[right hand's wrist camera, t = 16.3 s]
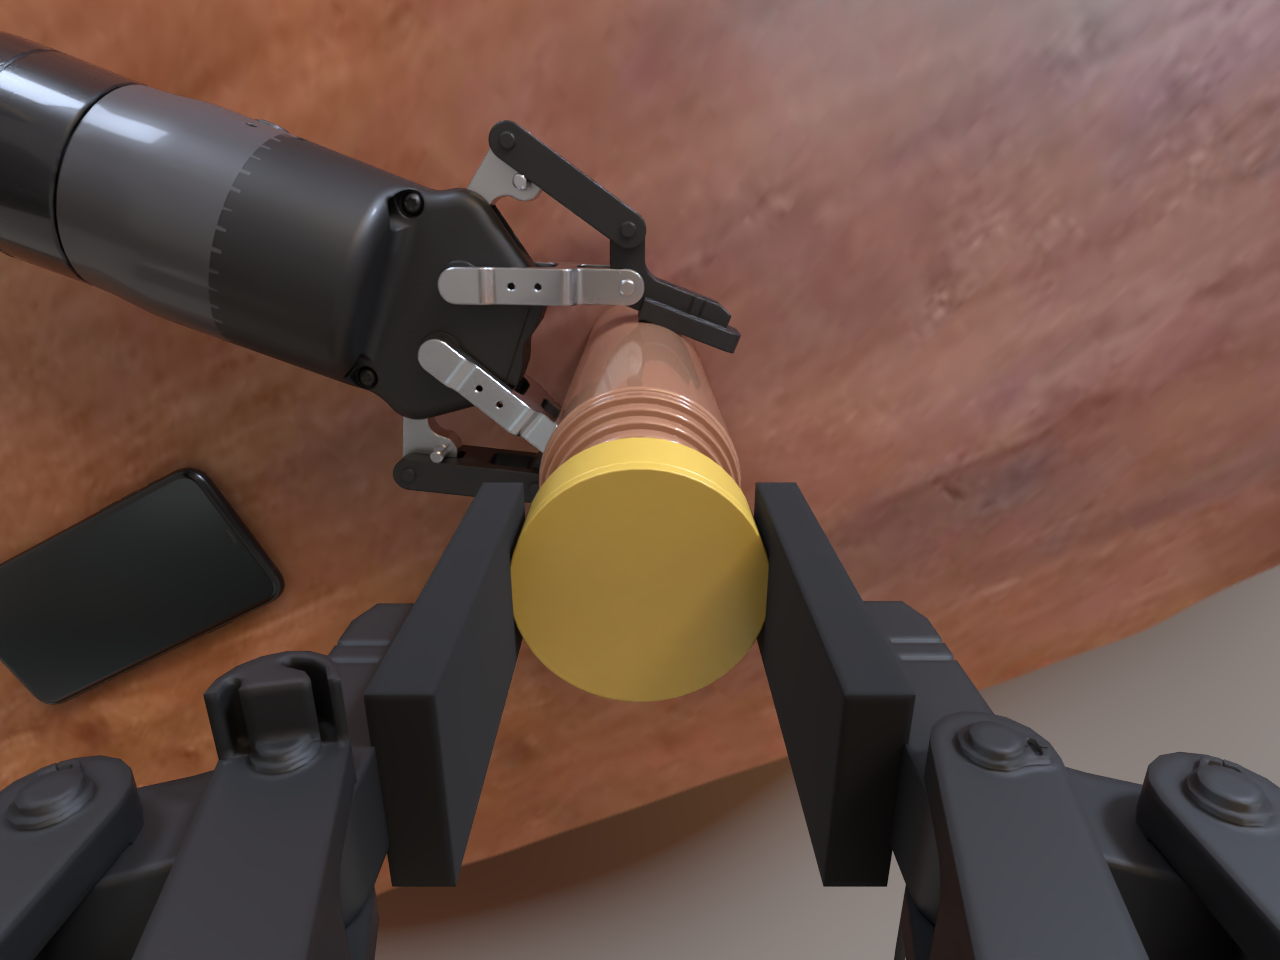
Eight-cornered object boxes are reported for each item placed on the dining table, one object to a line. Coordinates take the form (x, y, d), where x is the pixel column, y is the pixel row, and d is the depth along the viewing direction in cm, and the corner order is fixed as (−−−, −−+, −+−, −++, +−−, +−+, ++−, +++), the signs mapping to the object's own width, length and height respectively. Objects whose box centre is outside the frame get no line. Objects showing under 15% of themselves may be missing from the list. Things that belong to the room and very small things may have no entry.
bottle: (581, 303, 34) (484, 462, 13) (687, 292, 33) (767, 433, 12) (594, 406, 35) (528, 697, 14) (696, 396, 35) (779, 675, 14)
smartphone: (58, 703, 41) (297, 587, 38) (45, 713, 40) (289, 595, 37) (-48, 588, 38) (200, 456, 36) (-64, 597, 38) (189, 462, 35)
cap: (803, 519, 14) (826, 560, 13) (669, 684, 16) (672, 742, 14) (606, 389, 13) (601, 414, 12) (480, 576, 15) (459, 623, 13)
